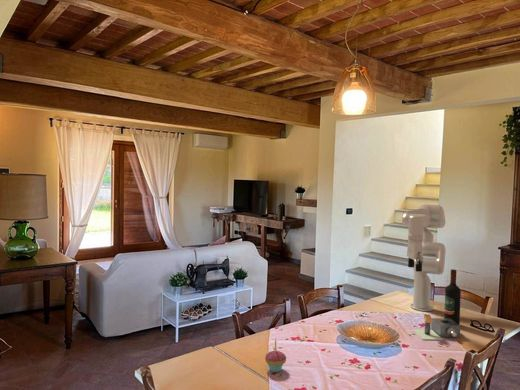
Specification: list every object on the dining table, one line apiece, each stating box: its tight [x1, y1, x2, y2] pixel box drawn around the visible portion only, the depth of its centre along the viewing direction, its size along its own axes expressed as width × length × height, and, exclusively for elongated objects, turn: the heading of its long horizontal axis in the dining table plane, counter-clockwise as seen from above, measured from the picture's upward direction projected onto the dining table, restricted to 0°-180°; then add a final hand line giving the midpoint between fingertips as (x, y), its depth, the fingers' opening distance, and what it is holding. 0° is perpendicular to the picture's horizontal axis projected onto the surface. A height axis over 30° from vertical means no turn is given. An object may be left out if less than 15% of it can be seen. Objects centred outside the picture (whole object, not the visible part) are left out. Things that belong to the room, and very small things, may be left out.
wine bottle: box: [443, 269, 462, 326], centre depth 209 cm, size 8×8×30 cm
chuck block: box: [430, 317, 461, 338], centre depth 194 cm, size 15×10×6 cm
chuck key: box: [423, 313, 433, 335], centre depth 193 cm, size 3×7×9 cm, turn 165°
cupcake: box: [264, 337, 287, 373], centre depth 154 cm, size 9×8×12 cm
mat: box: [412, 329, 444, 341], centre depth 193 cm, size 12×10×1 cm
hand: (414, 269), depth 209 cm, fingers open, 9 cm apart
